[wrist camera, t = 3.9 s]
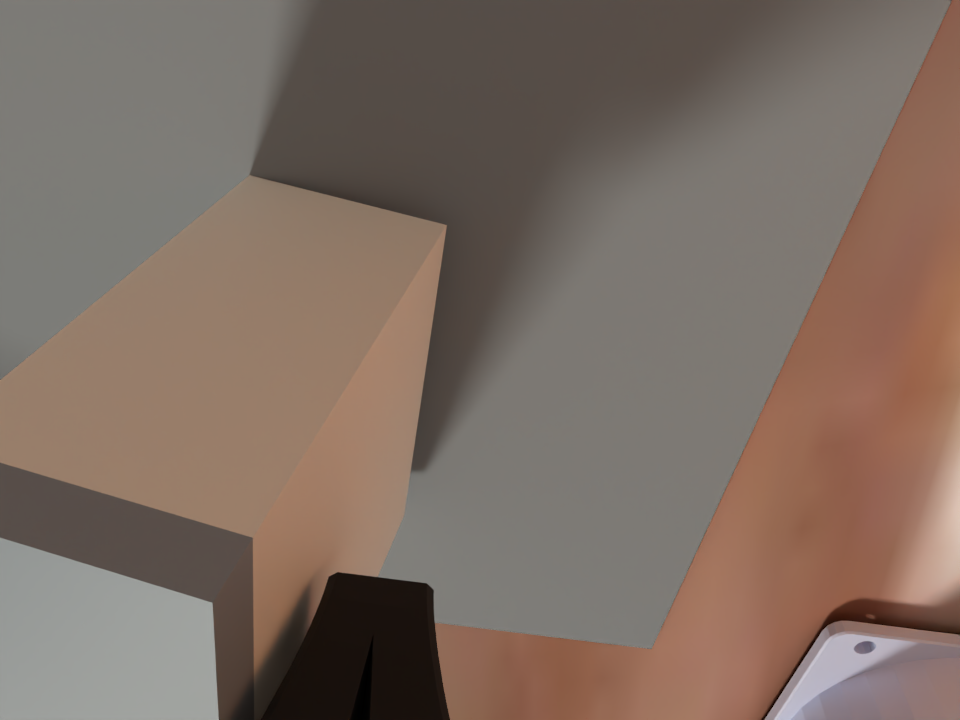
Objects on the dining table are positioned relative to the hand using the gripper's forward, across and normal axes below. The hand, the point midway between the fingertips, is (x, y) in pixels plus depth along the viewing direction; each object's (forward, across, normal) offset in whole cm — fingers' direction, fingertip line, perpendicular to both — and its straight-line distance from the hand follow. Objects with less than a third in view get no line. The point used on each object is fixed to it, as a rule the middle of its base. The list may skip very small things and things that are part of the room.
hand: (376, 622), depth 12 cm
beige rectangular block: (+6, +2, 0) cm, 6 cm away
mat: (+6, +3, 0) cm, 7 cm away
